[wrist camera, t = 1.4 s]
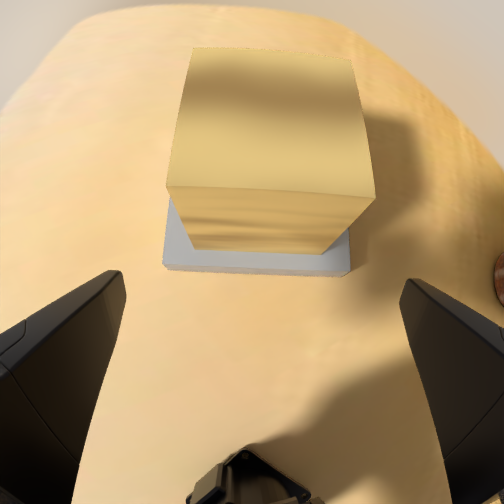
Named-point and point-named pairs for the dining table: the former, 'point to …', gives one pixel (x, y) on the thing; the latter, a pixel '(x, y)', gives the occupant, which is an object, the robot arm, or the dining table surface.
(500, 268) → the sauce bottle
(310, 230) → the ochre block
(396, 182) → the dining table surface
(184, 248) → the block
